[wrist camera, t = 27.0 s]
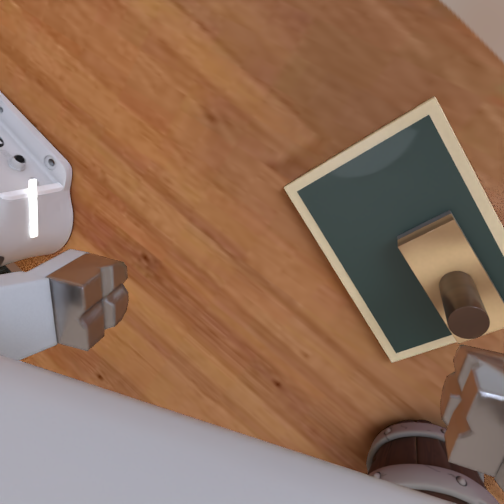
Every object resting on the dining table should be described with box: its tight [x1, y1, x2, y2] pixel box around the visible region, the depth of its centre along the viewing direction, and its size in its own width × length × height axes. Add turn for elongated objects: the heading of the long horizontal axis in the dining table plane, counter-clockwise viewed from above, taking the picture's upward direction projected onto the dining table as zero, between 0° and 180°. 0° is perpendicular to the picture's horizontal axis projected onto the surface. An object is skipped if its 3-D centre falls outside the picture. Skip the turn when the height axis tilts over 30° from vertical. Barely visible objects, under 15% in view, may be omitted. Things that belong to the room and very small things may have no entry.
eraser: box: [397, 210, 504, 344], centre depth 34 cm, size 11×5×9 cm, turn 37°
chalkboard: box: [284, 96, 504, 363], centre depth 39 cm, size 22×15×1 cm
